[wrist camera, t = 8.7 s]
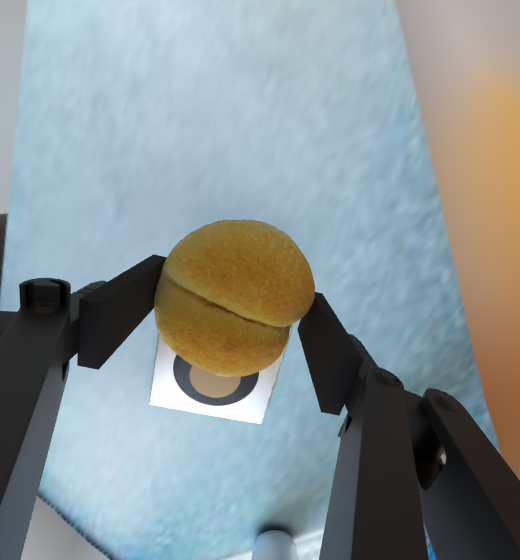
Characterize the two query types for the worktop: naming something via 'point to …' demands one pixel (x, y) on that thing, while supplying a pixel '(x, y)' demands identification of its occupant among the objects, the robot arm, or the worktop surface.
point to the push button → (210, 388)
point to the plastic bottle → (274, 546)
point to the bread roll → (232, 296)
